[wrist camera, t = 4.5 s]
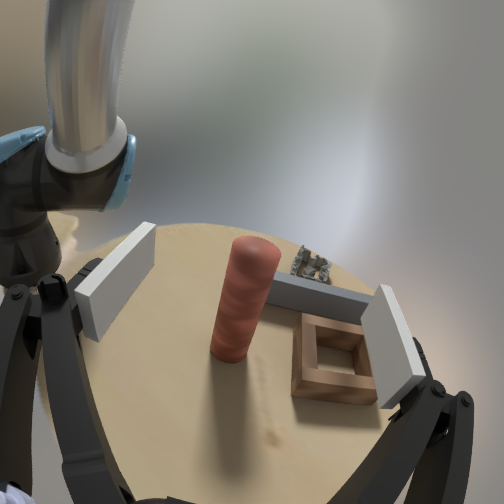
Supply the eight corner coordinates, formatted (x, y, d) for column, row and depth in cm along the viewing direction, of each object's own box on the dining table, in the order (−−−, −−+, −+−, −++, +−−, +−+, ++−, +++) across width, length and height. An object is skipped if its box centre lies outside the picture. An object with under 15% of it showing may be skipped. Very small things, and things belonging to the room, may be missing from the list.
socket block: (290, 395, 32) (302, 379, 30) (293, 330, 42) (301, 312, 40) (371, 405, 32) (386, 390, 30) (360, 344, 42) (371, 328, 40)
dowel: (206, 357, 34) (227, 254, 26) (214, 330, 38) (237, 231, 30) (243, 367, 34) (280, 268, 26) (249, 339, 38) (281, 243, 30)
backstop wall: (247, 298, 46) (254, 274, 44) (249, 289, 48) (256, 265, 46) (383, 329, 46) (396, 309, 44) (380, 320, 49) (393, 301, 46)
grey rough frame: (296, 258, 62) (302, 242, 60) (327, 271, 60) (334, 256, 58) (283, 282, 53) (289, 264, 51) (319, 297, 51) (327, 280, 49)
